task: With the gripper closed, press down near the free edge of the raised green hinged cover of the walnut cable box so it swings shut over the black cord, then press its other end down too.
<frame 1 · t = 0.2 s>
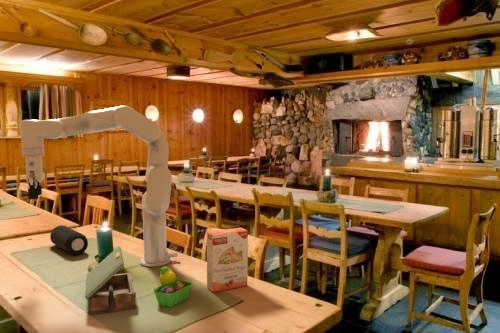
hand: (35, 196, 161), 31 cm above the table, tool pointing down, fingers open, 9 cm apart
portable speaker: (68, 250, 198), on the table
cracker box: (227, 287, 152), on the table
green plastic basket: (171, 301, 140), on the table
duct cover: (103, 270, 140), point 10 cm above the table, hinge at 40.0°
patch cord: (111, 296, 140), in the cable duct, point 1 cm above the table
cable duct: (111, 299, 142), on the table
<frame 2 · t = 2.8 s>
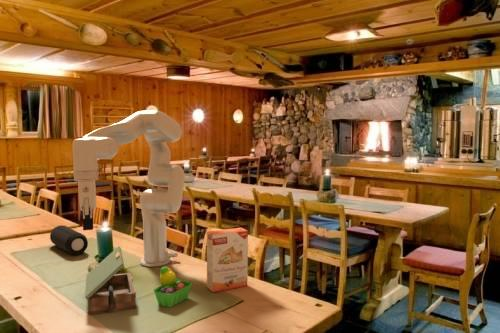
hand: (88, 229, 142), 23 cm above the table, tool pointing down, fingers closed
nothing on the table moved.
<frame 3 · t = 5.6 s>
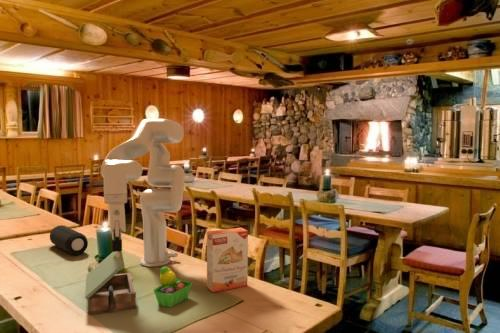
hand: (117, 250, 145), 15 cm above the table, tool pointing down, fingers closed
duct cover: (103, 270, 140), point 10 cm above the table, hinge at 39.4°, touching gripper
everything else where it was.
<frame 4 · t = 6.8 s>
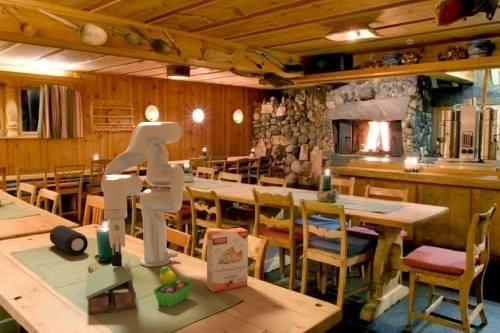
hand: (117, 265, 146), 10 cm above the table, tool pointing down, fingers closed
duct cover: (108, 275, 140), point 8 cm above the table, hinge at 19.4°, touching gripper
everything else where it was.
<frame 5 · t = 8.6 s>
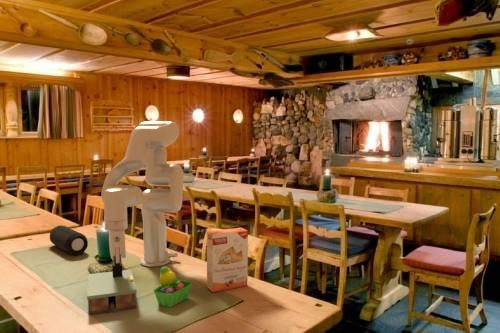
hand: (117, 276, 146), 6 cm above the table, tool pointing down, fingers closed
duct cover: (111, 282, 141), point 6 cm above the table, hinge at 0.0°, touching gripper
everything else where it was.
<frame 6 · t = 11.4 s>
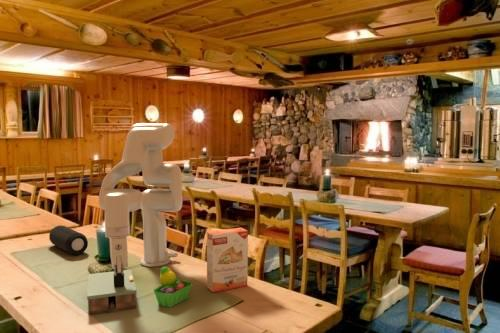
hand: (119, 286, 137), 6 cm above the table, tool pointing down, fingers closed
nothing on the table moved.
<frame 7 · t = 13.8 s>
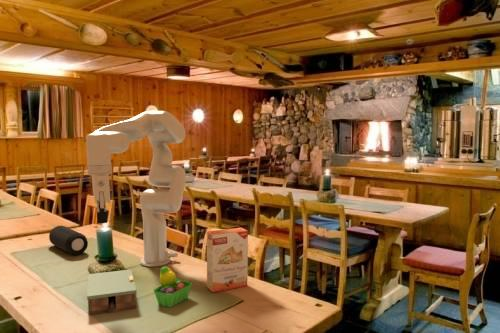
hand: (102, 222, 144), 25 cm above the table, tool pointing down, fingers closed
duct cover: (111, 282, 141), point 6 cm above the table, hinge at 0.0°
everything else where it was.
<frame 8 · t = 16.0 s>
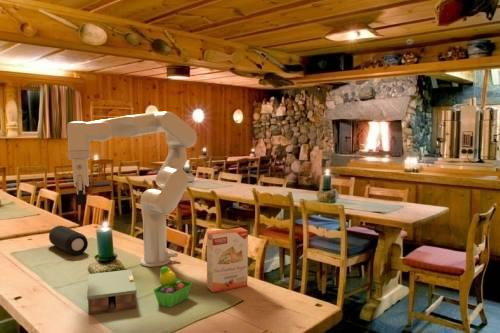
hand: (81, 204, 156), 29 cm above the table, tool pointing down, fingers closed
nothing on the table moved.
at the end: duct cover at +0° (first picture: +40°) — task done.
